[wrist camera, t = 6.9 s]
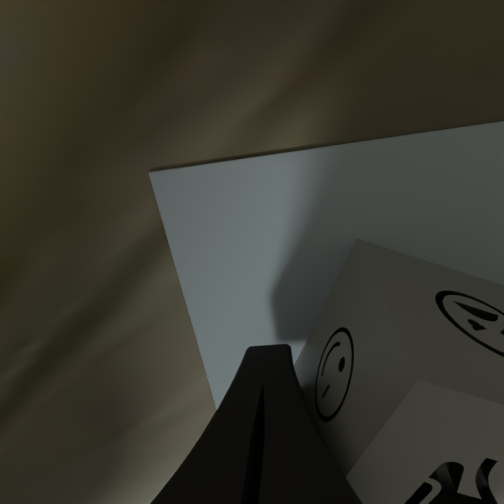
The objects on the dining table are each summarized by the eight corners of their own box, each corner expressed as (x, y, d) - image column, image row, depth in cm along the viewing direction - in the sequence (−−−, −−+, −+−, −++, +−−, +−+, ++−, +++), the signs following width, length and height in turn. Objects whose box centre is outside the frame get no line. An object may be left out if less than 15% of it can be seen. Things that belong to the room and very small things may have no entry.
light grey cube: (357, 238, 10) (418, 379, 6) (523, 292, 10) (700, 463, 6) (293, 367, 12) (299, 539, 8) (430, 406, 13) (510, 592, 8)
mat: (232, 458, 15) (232, 463, 15) (150, 170, 10) (148, 172, 10) (554, 448, 14) (558, 453, 13) (666, 96, 8) (675, 97, 8)
